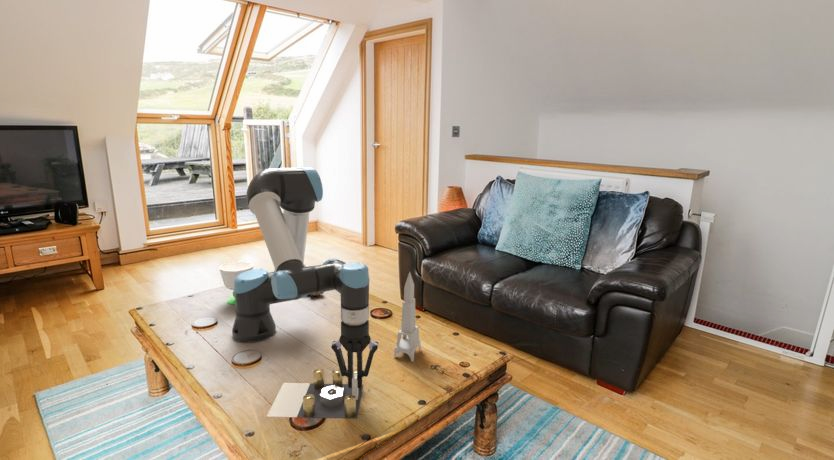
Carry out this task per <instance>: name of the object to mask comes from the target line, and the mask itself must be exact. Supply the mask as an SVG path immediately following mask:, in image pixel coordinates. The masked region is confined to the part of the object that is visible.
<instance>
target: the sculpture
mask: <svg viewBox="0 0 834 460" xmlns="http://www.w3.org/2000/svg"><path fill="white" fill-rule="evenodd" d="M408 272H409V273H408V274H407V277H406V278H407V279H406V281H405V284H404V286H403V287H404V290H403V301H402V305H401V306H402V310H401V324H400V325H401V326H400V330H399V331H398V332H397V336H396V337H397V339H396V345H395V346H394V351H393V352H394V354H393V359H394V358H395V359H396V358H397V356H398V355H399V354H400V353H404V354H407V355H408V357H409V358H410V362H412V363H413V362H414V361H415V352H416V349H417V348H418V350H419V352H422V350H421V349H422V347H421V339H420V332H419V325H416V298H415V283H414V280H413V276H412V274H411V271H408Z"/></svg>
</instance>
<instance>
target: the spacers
mask: <svg viewBox="0 0 834 460" xmlns="http://www.w3.org/2000/svg"><path fill="white" fill-rule="evenodd" d="M331 373H332V374H331V375H332V376H331V377H332V378H331V379H332V384H333V385H335V386H338V387H341V388H343V384H344V376H342V375H341V372H340V368H335V369H333V370H332V372H331ZM353 374H357V368H356V369H353ZM313 383H314V388H315V389H322V388H324V384H325V370H324V368H315V369H314V370H313ZM359 389H361V388H358V390H359ZM344 404H345V417H346V418H345V419H353V417H355V416H356V397H355V396H354V395H348V396H346V397H345V398H344ZM303 412H304V416H305V417H312V416H314V415H315V396H314V395H312V394H307V395H305V396H304V397H303Z"/></svg>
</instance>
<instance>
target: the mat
mask: <svg viewBox="0 0 834 460" xmlns="http://www.w3.org/2000/svg"><path fill="white" fill-rule="evenodd" d="M332 385H333V383H324V388H325V387H329V386H332ZM322 389H323V388H322ZM322 389H315V388H314V382H313V383H311V382H310V383H309V382H308V383H305V382H304V383H303V382H283V383H282V385H281V387H280V388H279V391H278V393H277V395H276V397H275V399H274V400H273V403H272V404H271V407H270V409H269V410H268V412H267V415H266V417H267V418H268V417H269V418H306V419H307V418H310V419H311V418H312V419H313V418H314V419H347V418H346V417H345V404H344V398H345V397H346V396H348V395H352V388H349V387H348V383H343V389H344V397H343V401H342V404H339V405H336V406H333V407H328V406H326V405H323V404H321V403H320V394H321V391H322ZM363 390H364V384H363V383H362V387H361V389H359V390H358V399H357V400H356V416H355V417H353V418H352V419H358V415H359V409H360V406H361V400H362V396H363V395H362V394H363ZM307 394H312V395H314V396H315V415H314V416H312V417H305V416H304V412H303V397H304V396H305V395H307Z"/></svg>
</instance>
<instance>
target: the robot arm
mask: <svg viewBox="0 0 834 460" xmlns="http://www.w3.org/2000/svg"><path fill="white" fill-rule="evenodd" d="M323 191H324V189H323V184H322V179H321V177H320V175H319V173H318V171H317V170H316V169H315V168H314V167H309V166H307V167H304V166H299V167H279V168H278V167H277V168H276V167H272V168H271V167H269V168H266V169H262V170H261V171H259V172H258V173H257V174H255V175H254V177H253V178H252V179H251V180H250V183H249V184H248V187H247V190H246V198H245V199H246V203H247V206H248V209H249V211H250V212H251V213H252V214H254V215H255V217H256V222H257V223H258V226H259V229H260V232H261V234H262V237H263V240H264V243H265V246H266V248H267V251H268V253H269V256H270V259H271V261H272V265H273V268H274V271H270V272H268V270H267V269H264V268H253V270H248V271H245V272H243V273H241V274H239V275H238V276H237V277H236V278H235V280H234V290H233V291H234V292H235V305H234V306H235V319H234V322H233V325H232V329H231V330H232V331H231V332H232V333H231V334H232V335H231V336H232V338H233V339H234V340H235V341H237V342H242V343H257V342H261V341H265V340H267V339H270V338H271V337H273V336H274V335H275V334H276V331H277V329H276V326H277V325H276V323H275V320H274V318H273V315H272V313H271V309H270V305H273V304H279V303H284V302H290V301H297V300H299V299H303V298H306V297H307V296H310V295H309V294H313V293H320V292H324V293H325V292H330V291H334V290H335V291H337V292H338V293H339V294H340V336H339V339H338V340H334V341H332V344H331V346H330V347H331V349H332V351H333V352H334V354H335V356H336V361H337V365H338V369H340V372H341V375H342V376H343V377H345V378H347V384H348V387H349V388H352V395H354V396H355V397H356V400H357V399H358V388H361V387H362V384H363V378H364V377H368V376H369V372H370V369H371V365H372V361H373V358H374V354H375V353H376V351H377V350H378V348H379V342H378V341H374V340H372V339H371V336H370V321H369V318H370V305H369V304H370V279H371V278H370V272H369V268H368V266H367V265H366V264H365V263H360V262H354V261H353V262H347V263H346V262H345V261H343V260H341V259H340V260H339V259H338V258H329V259H327V260H325V262H323V263H322V264H318V265H311V266H307V265H306V264H305V263H304V261H305V253H306V244H307V237H308V236H307V235H308V227H309V218H310V217H309V216H310V212H313V211H314V209H315V205H316V204H315V203H318V202H320V201H322V199H323V197H324V195H323V194H324V192H323ZM282 210H283V211H282ZM342 347H343V348H344V350H345V351H346V352H347V355H346V356H347V365H346V362H345V359H344V358H345V357H344V354H343V350H342ZM367 347H368V349H369V352H368V356H367V359H366V363H365V367H364V369H363V352H364V351H365V350H366V348H367ZM354 353H356V369H357V374H353V370H354Z"/></svg>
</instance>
